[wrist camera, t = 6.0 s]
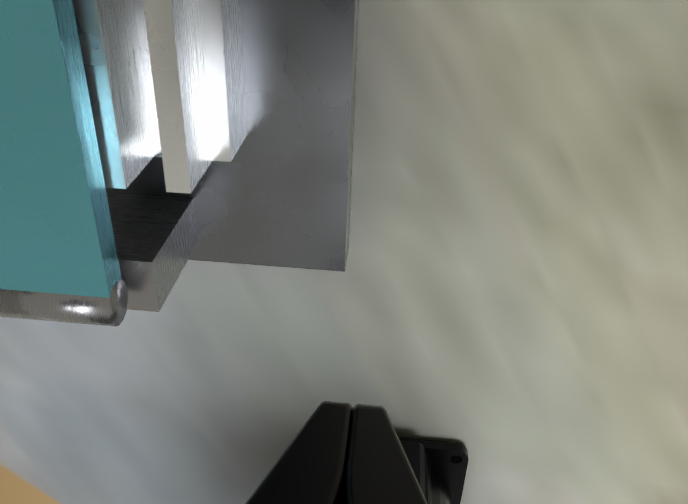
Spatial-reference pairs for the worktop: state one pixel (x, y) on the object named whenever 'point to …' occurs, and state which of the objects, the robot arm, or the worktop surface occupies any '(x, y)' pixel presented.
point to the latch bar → (52, 176)
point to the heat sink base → (286, 144)
